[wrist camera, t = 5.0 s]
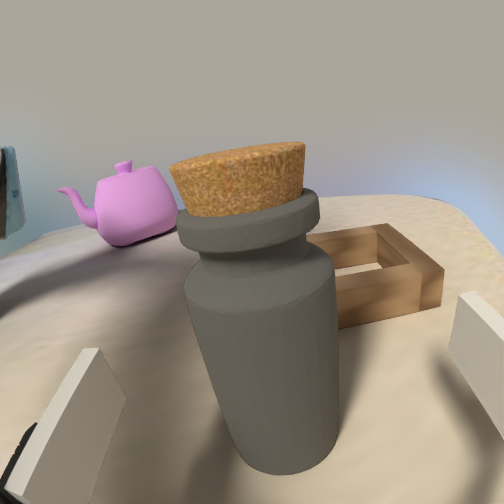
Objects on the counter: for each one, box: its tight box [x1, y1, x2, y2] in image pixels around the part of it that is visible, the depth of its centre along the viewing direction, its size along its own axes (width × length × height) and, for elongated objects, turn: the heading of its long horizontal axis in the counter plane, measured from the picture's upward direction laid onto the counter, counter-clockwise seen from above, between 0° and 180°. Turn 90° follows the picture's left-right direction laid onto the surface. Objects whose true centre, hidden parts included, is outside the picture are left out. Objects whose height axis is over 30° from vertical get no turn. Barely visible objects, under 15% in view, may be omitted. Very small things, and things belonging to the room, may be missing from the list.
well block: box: [306, 223, 444, 329], centre depth 30 cm, size 13×13×4 cm
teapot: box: [55, 160, 178, 246], centre depth 60 cm, size 23×21×15 cm
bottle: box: [169, 142, 339, 475], centre depth 13 cm, size 6×6×15 cm
